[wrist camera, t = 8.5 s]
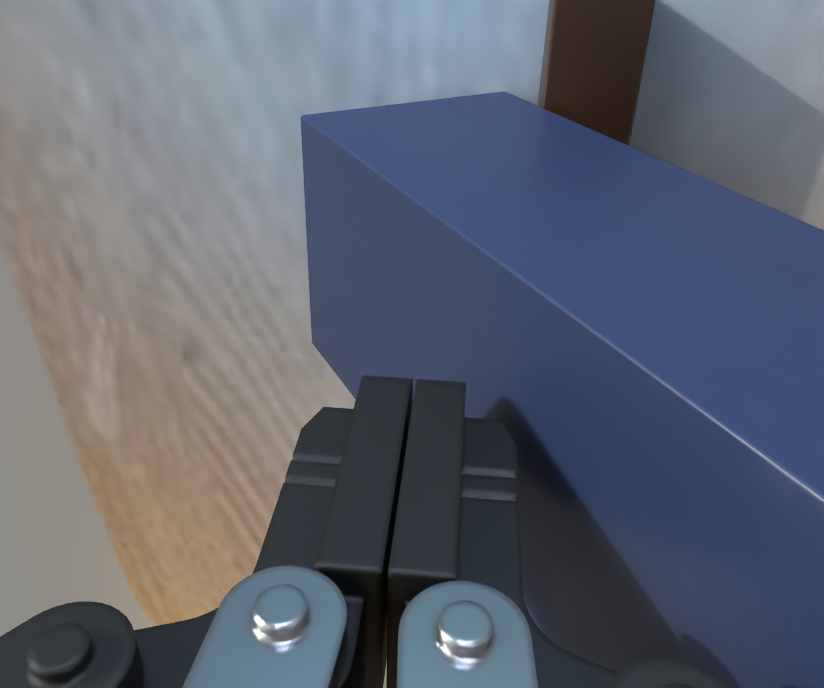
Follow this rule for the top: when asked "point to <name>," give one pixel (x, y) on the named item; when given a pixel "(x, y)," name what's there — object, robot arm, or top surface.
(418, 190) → the navy box
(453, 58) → the top surface
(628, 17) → the stop strip
